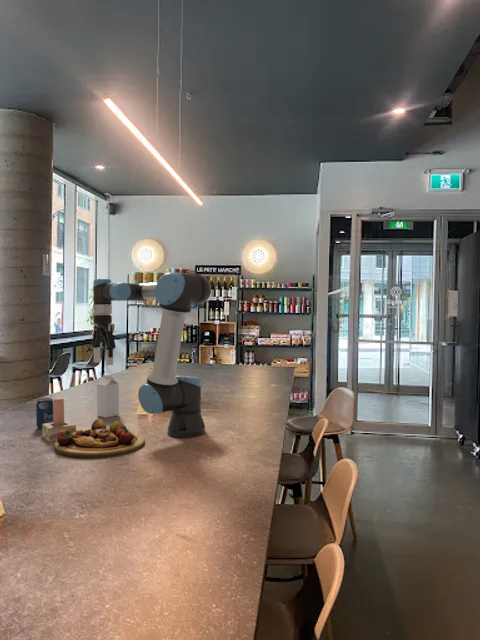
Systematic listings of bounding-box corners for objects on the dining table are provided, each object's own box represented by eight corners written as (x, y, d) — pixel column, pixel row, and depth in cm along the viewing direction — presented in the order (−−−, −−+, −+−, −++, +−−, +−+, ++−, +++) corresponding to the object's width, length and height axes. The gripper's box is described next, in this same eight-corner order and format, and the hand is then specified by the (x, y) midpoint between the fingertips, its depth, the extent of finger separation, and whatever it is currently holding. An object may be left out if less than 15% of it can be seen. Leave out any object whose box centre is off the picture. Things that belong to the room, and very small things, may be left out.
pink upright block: (65, 434, 192) (65, 399, 191) (55, 436, 189) (54, 400, 189) (62, 432, 195) (62, 397, 194) (52, 434, 192) (51, 398, 192)
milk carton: (106, 418, 225) (106, 376, 225) (97, 416, 229) (96, 375, 229) (119, 415, 231) (118, 375, 230) (109, 413, 235) (109, 374, 235)
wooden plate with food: (48, 463, 161) (49, 438, 161) (58, 437, 192) (59, 416, 191) (147, 457, 169) (148, 433, 169) (142, 433, 200) (142, 413, 200)
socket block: (76, 437, 191) (75, 424, 191) (49, 441, 185) (49, 428, 185) (67, 432, 199) (67, 420, 199) (42, 436, 193) (42, 423, 193)
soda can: (48, 430, 203) (47, 401, 203) (33, 429, 205) (32, 400, 204) (57, 426, 210) (57, 398, 210) (42, 425, 211) (42, 397, 211)
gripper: (83, 314, 219) (84, 361, 220) (106, 314, 199) (106, 366, 200) (99, 314, 224) (100, 360, 224) (123, 314, 204) (123, 365, 205)
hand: (103, 363), depth 212 cm, fingers open, 13 cm apart
